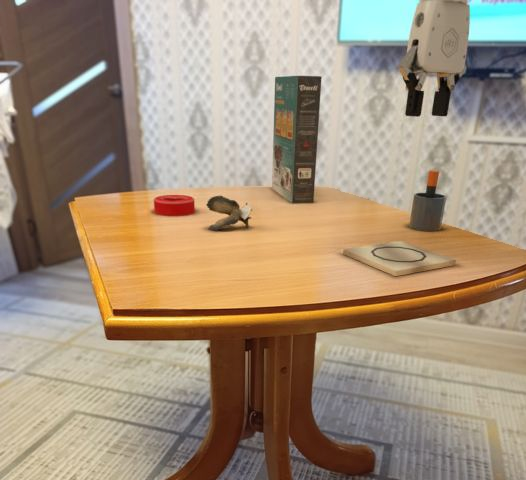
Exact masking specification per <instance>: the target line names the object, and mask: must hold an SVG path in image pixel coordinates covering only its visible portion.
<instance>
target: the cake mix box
mask: <svg viewBox="0 0 526 480" xmlns="http://www.w3.org/2000/svg"><path fill="white" fill-rule="evenodd" d="M322 78H323V77H322V76H320V75H285V76H275V77H274V103H273V104H274V107H273V141H272V171H271V172H272V175H271V189H272V190H273V191H274V192H276V193H277V194H279V195H280V196H282V197H283V198H284V199H285V200H286V201H288V202H290V203H291V204H312V203H313V204H314V199H315V185H316V169H317V156H318V155H317V154H318V153H317V152H318V141H319V140H318V139H319V137H318V136H319V122H320V110H321V109H320V108H321V95H322V80H323V79H322Z"/></svg>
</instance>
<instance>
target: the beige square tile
mask: <svg viewBox="0 0 526 480" xmlns="http://www.w3.org/2000/svg"><path fill="white" fill-rule="evenodd" d="M342 251H343V252H342V255H344V256H347V257H349V258H350V259H353V260H355V261H358V262H360V263H363V264H365V265H368V266H370V267H372V268H374V269H377V270H380V271H382V272H384V273H387V274H388V275H391V276H393V277H399V276H405V275H411V274H416V273H420V272H425V271H426V272H427V271H431V270H436V269H441V268H447V267H452V266H455V265H456V261H457V259H456V258H452V257H449V256H446V255H443V254H440V253H438V252H434V251H432V250H428V249H427V248H422V247H420V246H417V245H414V244H411V243H408V242H405V241H402V240H396V241H390V242H382V243H375V244H370V245H363V246H362V245H361V246H355V247H349V248H344V249H343V250H342Z"/></svg>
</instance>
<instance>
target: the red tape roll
mask: <svg viewBox="0 0 526 480" xmlns="http://www.w3.org/2000/svg"><path fill="white" fill-rule="evenodd" d="M195 205H196V204H195V199H194V197H192V196H190V195H184V194H163V195H159V196H158V195H157V196H155V197H154V199H153V209H154V213H155V214H157V215H160V216H167V217H168V216H169V217H178V216H187V215H192V214H195V212H196V211H195V210H196V209H195V208H196V207H195Z"/></svg>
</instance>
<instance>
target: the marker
mask: <svg viewBox="0 0 526 480" xmlns="http://www.w3.org/2000/svg"><path fill="white" fill-rule="evenodd" d="M439 175H440V170H434V169H430V170H428V174H427V181H426V188H425V193H426V194H425V197H426V198H435V193H436V191H437V186H438V180H439Z"/></svg>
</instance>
